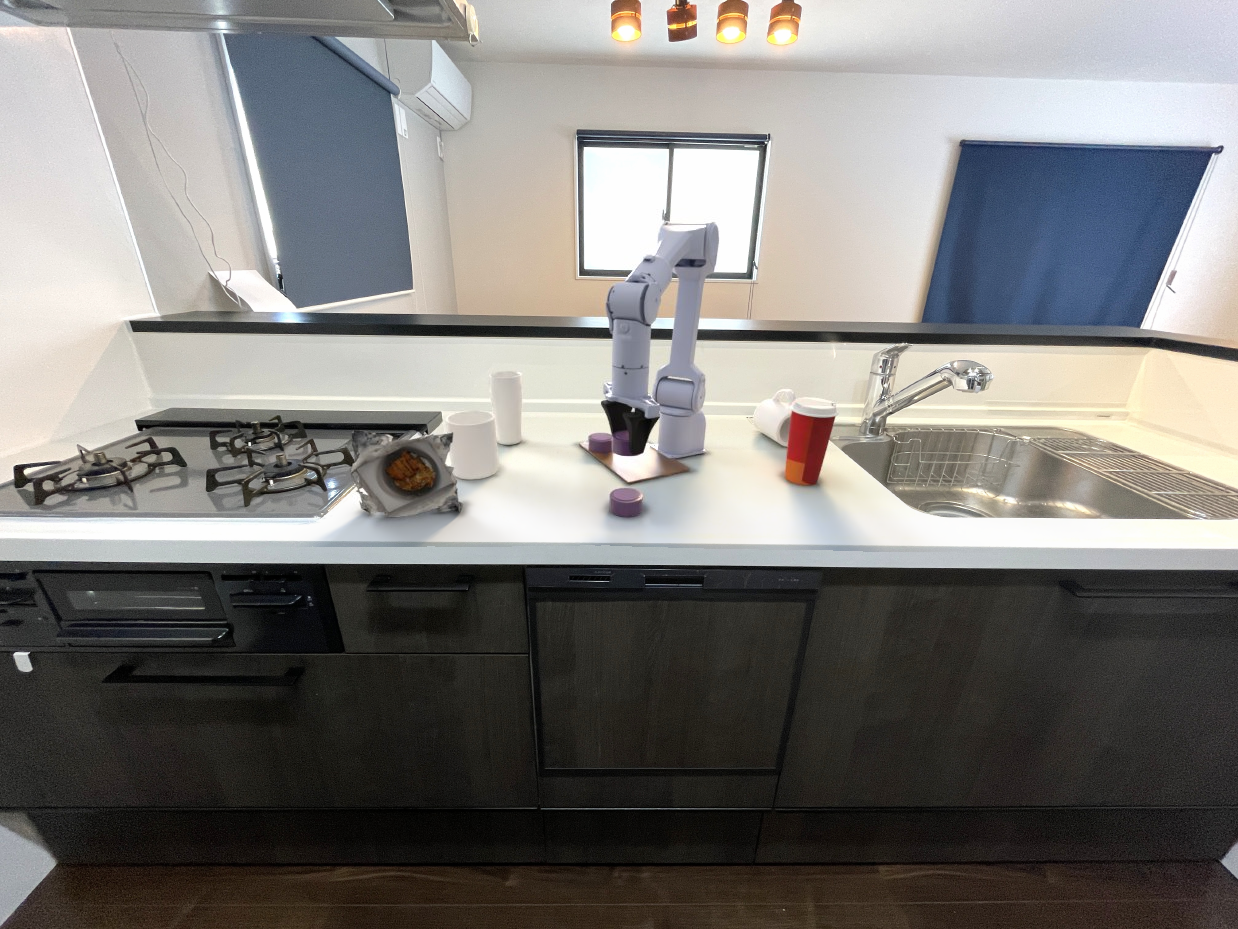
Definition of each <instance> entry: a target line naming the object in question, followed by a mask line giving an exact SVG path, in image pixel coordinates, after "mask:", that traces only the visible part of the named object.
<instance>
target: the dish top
mask: <svg viewBox="0 0 1238 929" xmlns="http://www.w3.org/2000/svg"><path fill="white" fill-rule="evenodd" d="M587 439H588V440H587V442H588V449H589V450H590V451H592V452H595V453H608V452H611V451H612V434H611V433H608V432H595V433H590V434H589V435H588V437H587Z"/></svg>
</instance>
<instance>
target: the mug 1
mask: <svg viewBox="0 0 1238 929" xmlns="http://www.w3.org/2000/svg"><path fill="white" fill-rule="evenodd" d="M444 421H445V427H446V434H448V433H452V432H453V442H452V443H451V445H450V451H449V453H448V454H449V462H450V467H454V470H453V472H452V474H453V475H454V477H455V478H456V477H457V478H458V479H461V480H469V481H473V480H483V479H485V478H490V477H491V476H493V475H495V474H496V473H497V472H498V470H499V464H500V463H499V452H498V451H499V450H498V441H497V434H496V424H495V415H494V414H493V412H490V411H487V410H479V409H478V410H477V409H476V410H475V409H473V410H462V411H458V412H454V413H450V414H449V415H447V416H446V417H445V420H444Z"/></svg>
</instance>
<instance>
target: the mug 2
mask: <svg viewBox="0 0 1238 929" xmlns="http://www.w3.org/2000/svg"><path fill="white" fill-rule="evenodd" d="M784 395H785V396H786V398H787V404H786V403H785V402H782V401H780V400H781V398H782V397H784ZM795 399H797V397H796V394H795V392H794V390H792V389H790V388H784V389H780V390H779V391H777V392H776V393H775V394H774V395H773V396H772V398H767V399H765V400H762V402H760V403H759V404H758V405H757V407H756V408H755V410H754V412H753V414H752V423H753V426H754V428H755V429H756V430H757V431H758V432H761V433H762V434H763V435H765V436H766V437H768V438H770V439H771V440H773V441H775V442H776V443H777V444H779V445H781V446H782V447H788V438H789V429H790V420H791V411H792V410H790V409H789V406H791V405H792V402H794V401H795Z"/></svg>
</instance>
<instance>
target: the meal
mask: <svg viewBox="0 0 1238 929" xmlns="http://www.w3.org/2000/svg"><path fill="white" fill-rule="evenodd" d="M393 439H394V436H392V435H391V434H388V433H376V432H370V431H365V430H361V429H360V430H359V429H357V430H356V429H354V430H353V431H351V446H352V449H353V457H354V463H352V466H351V470H349V471H350V476H351V479H352V480H353V482H354V485H355V487H356V489H357V490H355V492H356V493H357V494H359V497H360V500H359V506H360V509H361V510H363V511H365V512H367V513H368V514H376V513H382V514H384V515H385V518H386V519H387V518H401V517H410V516H415V515H420V514H422V513H423V514H424V513H426V512H430V511H437V512H441V511H449V510H452V511H456V512H459V513H461V512H462V510H463V509H462V508H463V505H464V504H463V502H461V501H459V494H458V492H459V490H458V487H457V484H458V480H457V479H456V476H455V475H454V474H453V470H454V467H451V465H450V466H449V465H447V464H446V462H447V459H448V454H449V451H450V445H451V443H452V442H453V432H452V433H448V434H447V433H441V434H434V433H431V434H427V433H425V434H424V435H421V436H419V437H417V438H411V439H397V440H393ZM354 473H356V475H357V476H358V477H359V478H358V480H357V478H356V477H355V476H354ZM361 489H362V490H364V492H365V493H366V494H365V493H364V492H363V491H361Z"/></svg>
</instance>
